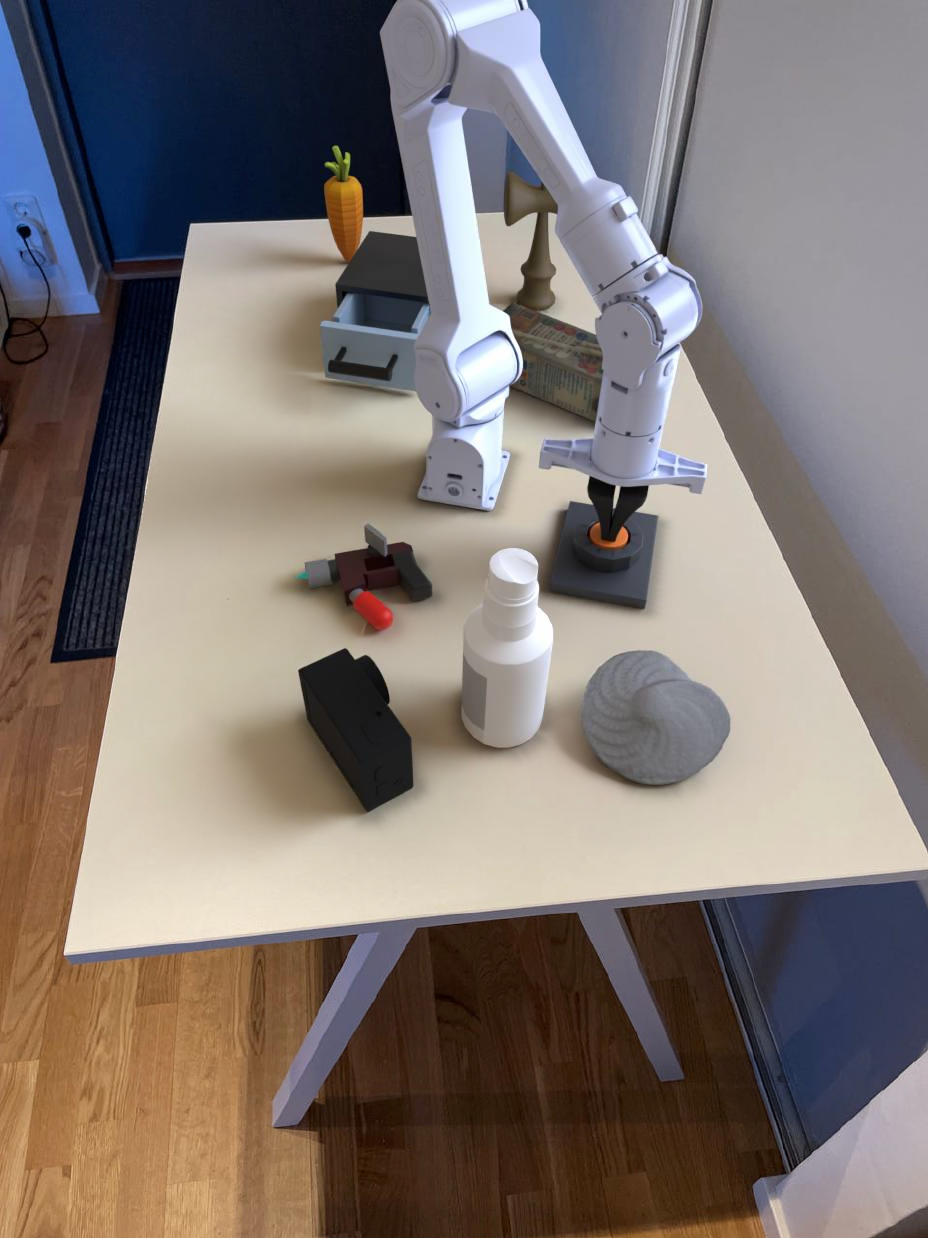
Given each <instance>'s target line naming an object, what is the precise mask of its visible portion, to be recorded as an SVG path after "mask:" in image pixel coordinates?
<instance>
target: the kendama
mask: <svg viewBox="0 0 928 1238" xmlns="http://www.w3.org/2000/svg"><path fill="white" fill-rule="evenodd" d="M540 181H541V180H540ZM557 213H558V204H557V203H556V201H555V200H554V198H553V197H552V195H551V194H550V193H549V191H548V190H547V188H546V187H545V185H544V184H543V182H542V181H541V182H540V186H539V185H534V184H531V183H528V182H527V181H526V180H524V179H523V178H522V177H520V176H519V175H517V173H515V172H513V171H511V170H509V171H507V172H506V175H505V178H504V188H503V218H504V223H505V226H506V227H511V226H513V225H515V224H517V223H518V222H519V221H520V220H522V219H523V218H525V217H527V216H528V215H531V214H536V221H535V227H534V232H533V238H532V241H531V246H530V250H529V254H528V257H527V259H526V261H525V262H524V263H522V264H521V266H520V272H521V275H522V276H523V284H522V287H521V289H519V290H518V291H517V293H516V301H517V303H518V305H520V306H524V307H526V308H529V309H532V310H535V311H541V310H546V309H549V308H551V307H553V306H554V305H555V303H556V295H555V293H554V291H553V290H552V289H551V283H552V282H551V281H552V279H553V277H555V275H556V273H557V268H556V265H555V264H554V263H553V262H552V260H551V254H550V239H549V238H550V235H549V214H555V215H557Z"/></svg>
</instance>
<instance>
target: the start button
mask: <svg viewBox="0 0 928 1238" xmlns="http://www.w3.org/2000/svg"><path fill="white" fill-rule="evenodd" d="M627 539H628V533H627V531H626V529H625V528H624V527H622V528H621V530H620V532H619V534H618V536H617V538H616V541H615V542H611V541H606V540H601V528H600V523H597V524H595V525H594V526H593V527H592V528H591V530H590V536H589V540H590V542H591V543H592V544H594V545H595V546H597V547H599V548H600V549H606V550H617V549H622V548H624V547H625V546H626V544H627Z"/></svg>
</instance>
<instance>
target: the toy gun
mask: <svg viewBox="0 0 928 1238" xmlns="http://www.w3.org/2000/svg"><path fill="white" fill-rule="evenodd" d="M363 530H364V542H365V543H366V544H367V547H364V548H358V549H353V550H348V551H341V552H337V553H334V559H329V560H328V559H327V558H322V559H317V560H311V561H305V562H304V564H303V565H304V569H305V571H304V572H302V573H300V574H298V575H296V576H295V578H297V579H304V580H307V585H308V588H309V589H314V588H321V587H326V586H331V585H332V583H335V582H339V585H340V588H341V592H342V597H343V600H344V605H345V607H348V606H351V605H353V609H354V610H355V611H356V612H357V613H358V614H360V615H361V616H362V617H363V618H364V619H365V620H366V621H367V622H368V623H369V624H370V625H371V626H372V627H373V628H375V629H377V630H379V631H380V630H381V631H383V630H387V629H388V628H390V627H391V625H392V624H393V621H394V615H393V612H392V611H391V610H390V608H388V607H387V606H386V605H385V604H384V603H383V602H382V601H381V600H379V598H377V597H376V596H375V595H374V594H373V593H372V592H370V590H371V591H372V590H377V589H381V588H386V587H392V586H400V587H401V588H402V589H403V591H404V593H406V595H407V596H408V598H409V599H410V600H411V601H414V602H416V601H422V600H427V599H430V598H432V597H433V584H432V582H431V581H430V580H429V578H428V577H427V575H426V574H425V573H424V572H423V570H422V569H421V567H420V566H419V564H418V563H417V560H416V557H415V554H414V549H413V547H412V545H411V544H409V543H408V542H407V543H406V542H405V541H399V542H393V543H388V539H387V537H386V536H385V535H383V533H381V532H380V531H379V530H377V528H374V527H373V526H372V525H371V524H369V523H366V524H365V525H363Z"/></svg>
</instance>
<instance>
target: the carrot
mask: <svg viewBox="0 0 928 1238" xmlns="http://www.w3.org/2000/svg"><path fill="white" fill-rule="evenodd" d="M331 149H332V151H333V154H334V157H335V159H336V161H337V162H335V161H332V162H329V161H326V162H325V163H324V167H325V168H327V169H329V170H330V171H332V172H333V173H334V176H331V178H329V179H328V180H327V181H326V182H325V183H324V186H323V189H324V190H323V192H324V198H325V200H324V201H325V207H326V215H327V220H328V224H329V227H330V230H331V234H332V238H333V240H334V243H335V245H336V248H337V249H338V251H339V252H340V254H341V256H342V258H343V259H344V261H345V262H346V263H347V264H348V263H349V262H350V260H351V259H352V257H353V256H354V254H355V253H356V251H357V250H358V248H359V246H360V244H361V239H362V232H363V224H364V223H363V222H364V202H363V201H364V200H363V187H362V184H361V183H360V182H359V180H358V178H356V177H355V176H353V175H349V171H350V167H351V166H350V165H351V154H350V153H349V152H346V151H345V153H344V158H343V156H342V152H341V150H340V148H339V146H338V145H334V146H332V147H331Z"/></svg>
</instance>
